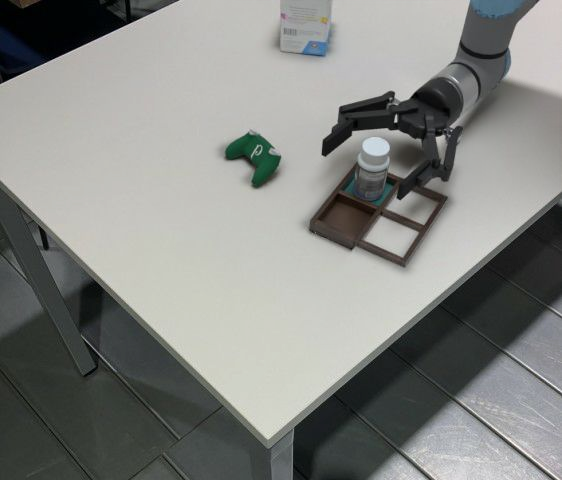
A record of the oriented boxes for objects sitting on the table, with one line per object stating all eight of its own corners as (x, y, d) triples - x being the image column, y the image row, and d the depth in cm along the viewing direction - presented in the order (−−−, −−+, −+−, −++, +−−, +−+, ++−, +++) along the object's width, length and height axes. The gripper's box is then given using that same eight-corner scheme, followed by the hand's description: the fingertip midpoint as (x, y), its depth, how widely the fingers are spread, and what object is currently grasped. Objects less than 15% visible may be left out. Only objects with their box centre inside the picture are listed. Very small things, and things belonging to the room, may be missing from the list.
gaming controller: (267, 192, 98) (290, 160, 96) (253, 185, 95) (276, 152, 93) (235, 159, 102) (256, 128, 100) (220, 152, 99) (242, 119, 96)
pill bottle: (359, 176, 97) (367, 131, 90) (387, 186, 96) (397, 141, 89) (347, 195, 95) (354, 150, 87) (376, 206, 94) (385, 161, 86)
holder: (445, 206, 95) (448, 196, 93) (403, 272, 88) (405, 263, 86) (356, 170, 99) (357, 159, 97) (308, 230, 92) (309, 220, 90)
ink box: (331, 31, 118) (338, -45, 107) (325, 57, 114) (331, -20, 103) (286, 26, 119) (288, -51, 108) (279, 51, 115) (280, -26, 103)
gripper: (504, 156, 96) (427, 231, 88) (374, 89, 104) (293, 152, 96) (520, 114, 90) (440, 190, 81) (381, 46, 98) (295, 109, 89)
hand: (360, 169), depth 89 cm, fingers open, 13 cm apart
